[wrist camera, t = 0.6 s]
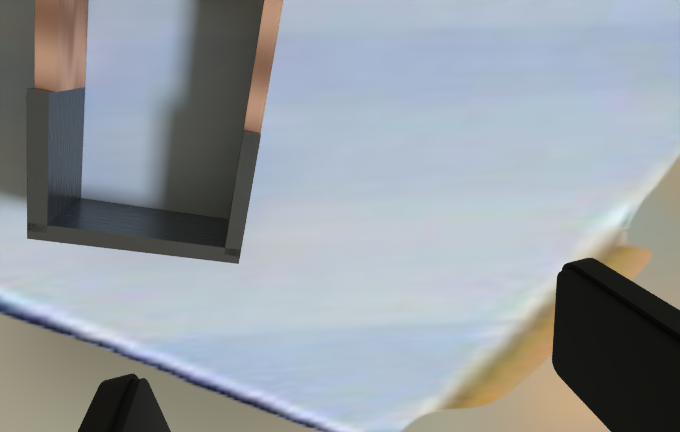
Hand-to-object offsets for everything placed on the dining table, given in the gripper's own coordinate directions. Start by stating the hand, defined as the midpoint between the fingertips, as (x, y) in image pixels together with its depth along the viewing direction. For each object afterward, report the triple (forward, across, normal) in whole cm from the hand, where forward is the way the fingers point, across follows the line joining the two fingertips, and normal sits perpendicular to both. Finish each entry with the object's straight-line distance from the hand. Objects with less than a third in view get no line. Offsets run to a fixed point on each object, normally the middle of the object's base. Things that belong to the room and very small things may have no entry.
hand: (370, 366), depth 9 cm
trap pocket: (+29, +11, +1) cm, 30 cm away
